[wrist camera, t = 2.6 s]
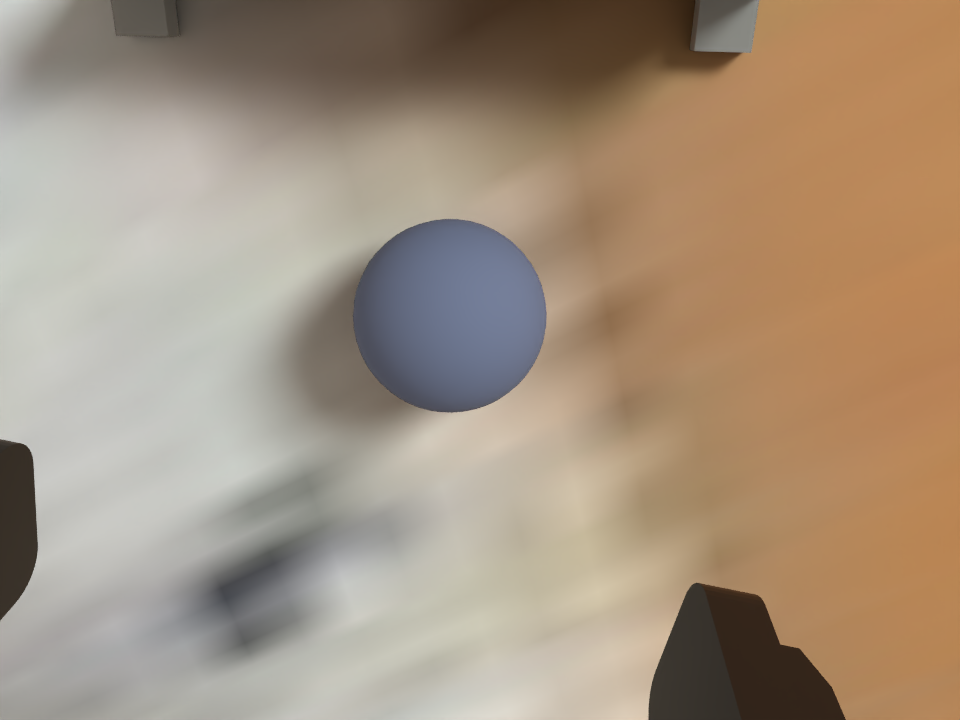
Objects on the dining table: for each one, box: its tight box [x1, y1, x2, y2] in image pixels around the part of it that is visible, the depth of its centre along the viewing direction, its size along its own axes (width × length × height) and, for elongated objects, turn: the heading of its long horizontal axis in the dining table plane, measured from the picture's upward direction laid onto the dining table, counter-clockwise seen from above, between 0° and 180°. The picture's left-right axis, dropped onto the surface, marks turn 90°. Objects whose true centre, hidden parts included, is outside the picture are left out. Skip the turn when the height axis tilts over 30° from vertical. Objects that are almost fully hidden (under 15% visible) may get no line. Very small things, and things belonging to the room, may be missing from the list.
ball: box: [353, 219, 546, 412], centre depth 18 cm, size 4×4×4 cm
